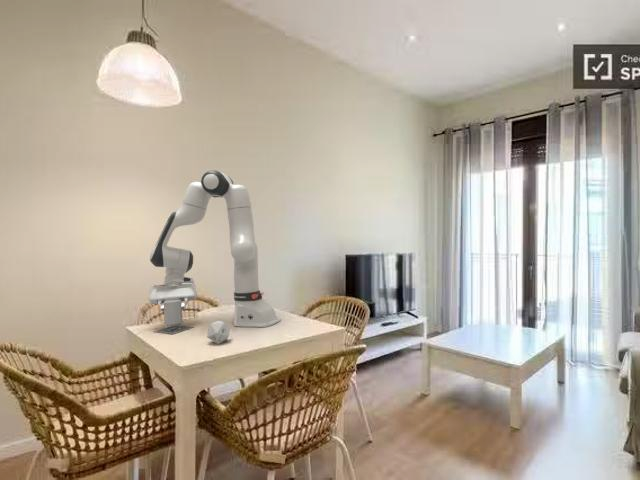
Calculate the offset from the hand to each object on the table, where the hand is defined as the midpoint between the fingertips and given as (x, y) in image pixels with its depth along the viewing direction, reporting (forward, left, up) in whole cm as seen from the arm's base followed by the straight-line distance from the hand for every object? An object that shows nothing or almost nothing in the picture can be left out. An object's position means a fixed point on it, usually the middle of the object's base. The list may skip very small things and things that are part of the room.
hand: (172, 309), depth 159 cm
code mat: (0, 0, -9) cm, 9 cm away
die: (-33, +7, -10) cm, 35 cm away
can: (0, 0, -7) cm, 7 cm away
